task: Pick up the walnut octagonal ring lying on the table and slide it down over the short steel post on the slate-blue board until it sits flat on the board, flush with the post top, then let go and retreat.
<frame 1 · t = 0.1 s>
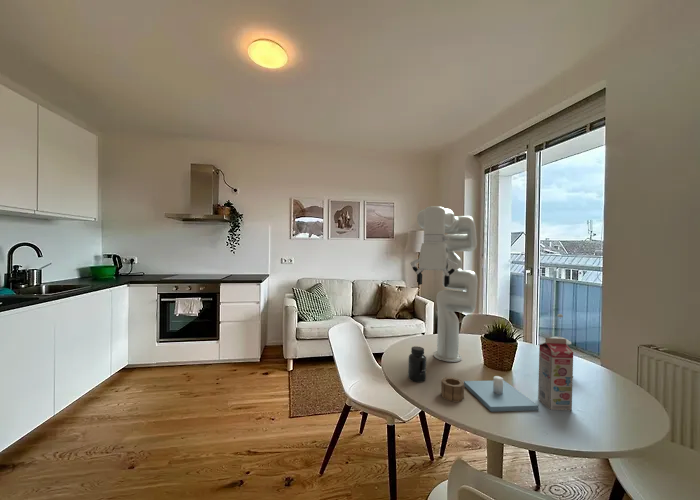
hand: (432, 285, 110), 37 cm above the table, tool pointing down, fingers open, 9 cm apart
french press: (556, 373, 124), on the table
supplement bottle: (416, 379, 115), on the table
juice carton: (554, 405, 98), on the table
walnut ring: (452, 396, 102), on the table
post board: (497, 396, 102), on the table
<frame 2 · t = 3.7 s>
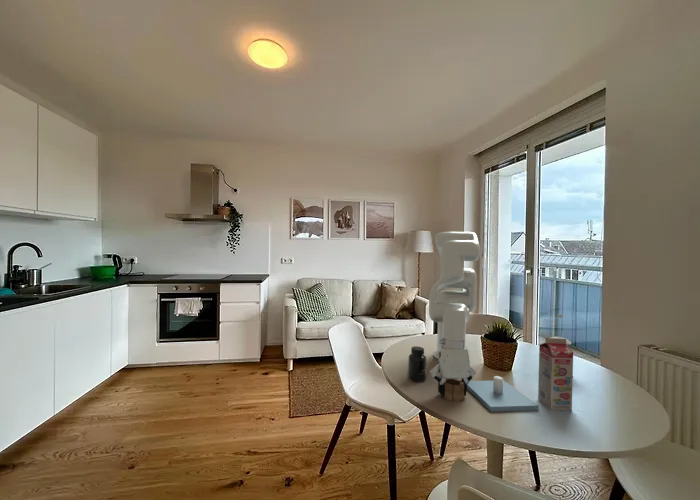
hand: (452, 394, 102), 1 cm above the table, tool pointing down, fingers closed on walnut ring, 7 cm apart
walnut ring: (452, 396, 102), on the table, touching gripper
everything else where it was.
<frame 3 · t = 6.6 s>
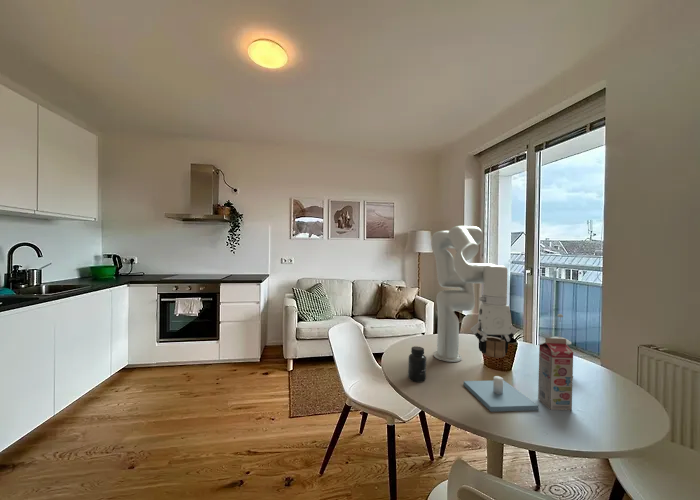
hand: (493, 351, 102), 16 cm above the table, tool pointing down, fingers closed on walnut ring, 7 cm apart
walnut ring: (493, 353, 102), point 15 cm above the table, touching gripper
everything else where it was.
when the fingers open (3 cm above the table, at t = 9.9 s): walnut ring stays where it is, resting on post board.
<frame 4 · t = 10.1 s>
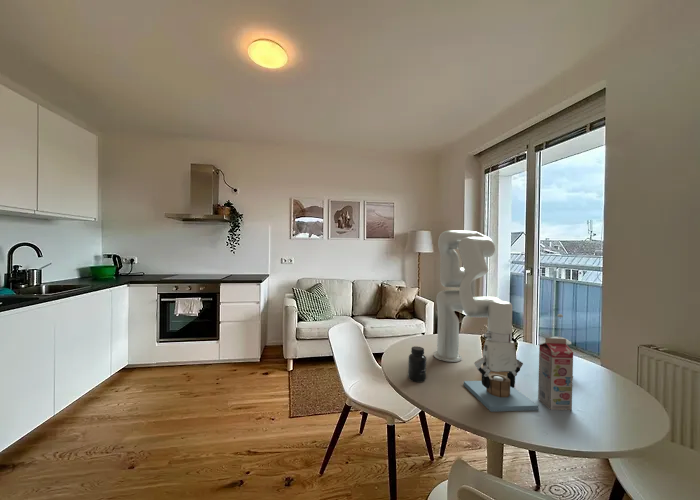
hand: (498, 386, 102), 4 cm above the table, tool pointing down, fingers open, 8 cm apart
walnut ring: (498, 392, 102), point 1 cm above the table, touching post board
everything else where it was.
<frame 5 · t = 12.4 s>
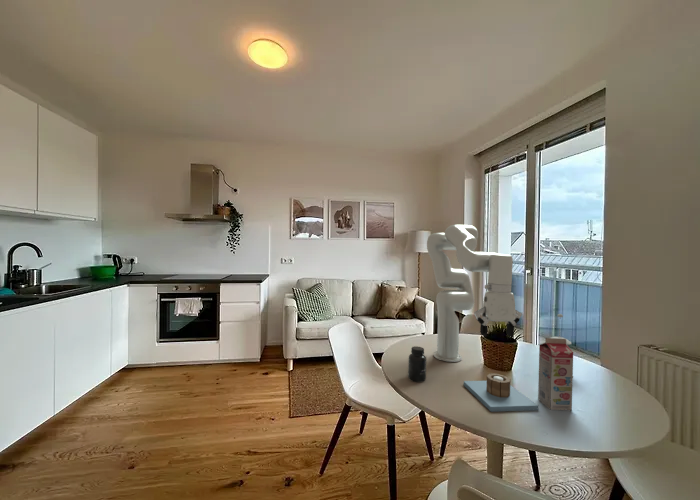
hand: (496, 335, 106), 20 cm above the table, tool pointing down, fingers open, 9 cm apart
nothing on the table moved.
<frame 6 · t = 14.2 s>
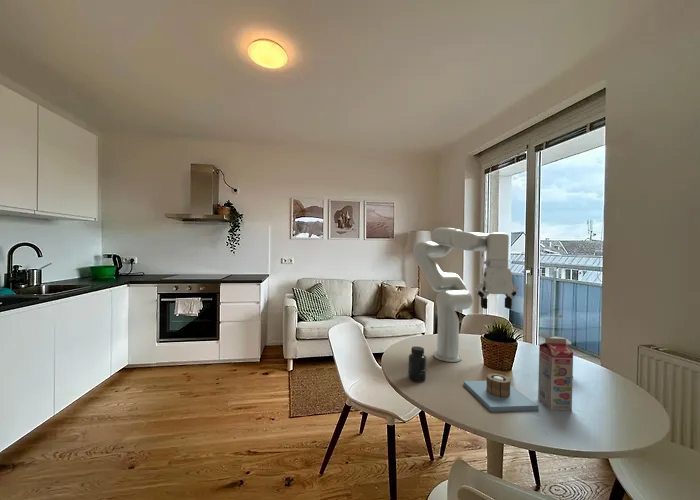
hand: (496, 308, 115), 28 cm above the table, tool pointing down, fingers open, 9 cm apart
nothing on the table moved.
at the end: walnut ring 0.0 cm off-centre on the post board, point 1.5 cm above the post board's base; walnut ring tilted 0°; the gripper is holding nothing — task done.
